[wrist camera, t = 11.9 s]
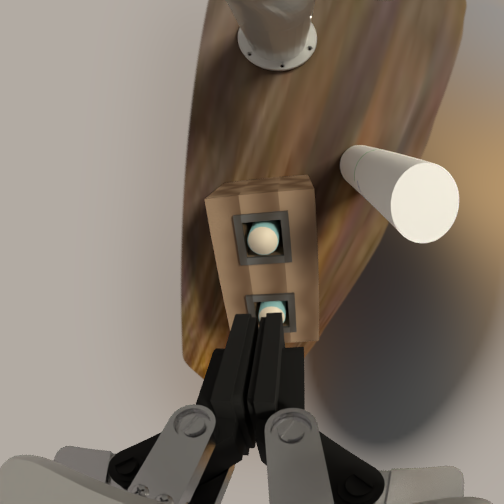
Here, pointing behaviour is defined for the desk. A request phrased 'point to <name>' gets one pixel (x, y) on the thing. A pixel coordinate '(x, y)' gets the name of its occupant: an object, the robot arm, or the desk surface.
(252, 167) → the desk surface
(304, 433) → the robot arm
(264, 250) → the peg
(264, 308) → the peg
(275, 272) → the walnut block
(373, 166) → the cylindrical container
